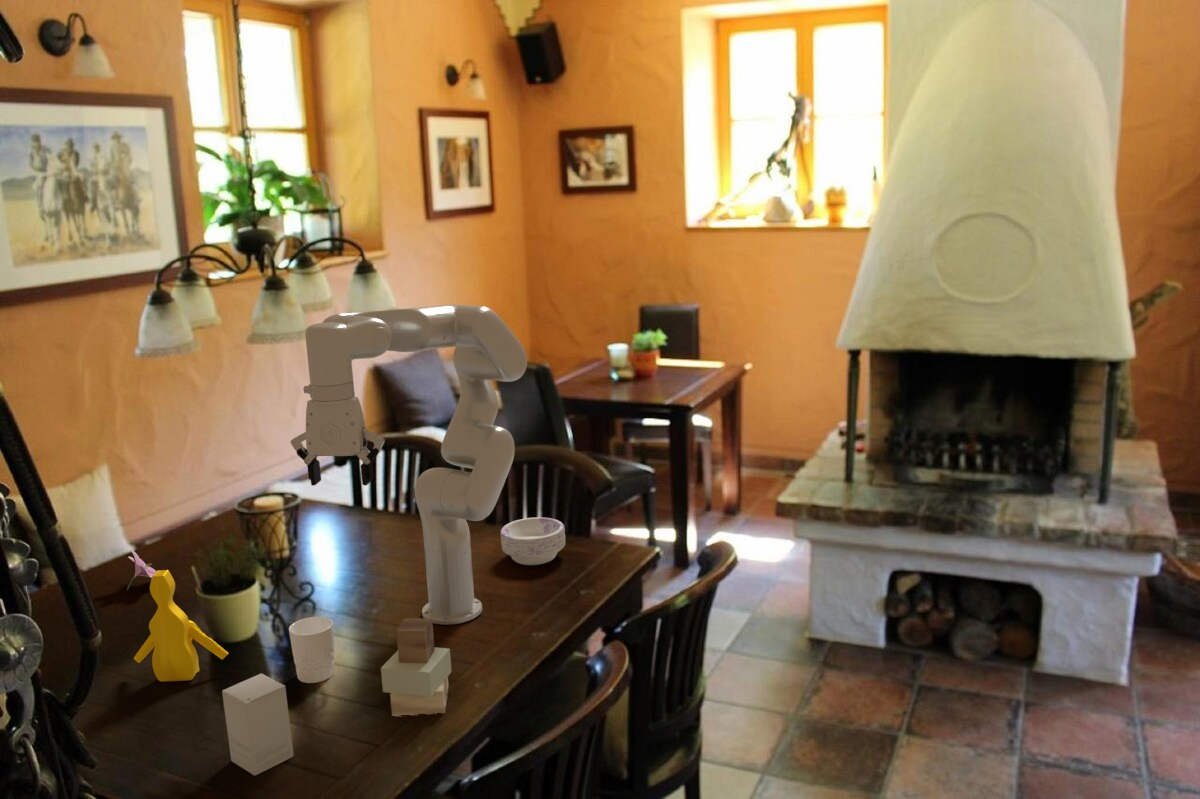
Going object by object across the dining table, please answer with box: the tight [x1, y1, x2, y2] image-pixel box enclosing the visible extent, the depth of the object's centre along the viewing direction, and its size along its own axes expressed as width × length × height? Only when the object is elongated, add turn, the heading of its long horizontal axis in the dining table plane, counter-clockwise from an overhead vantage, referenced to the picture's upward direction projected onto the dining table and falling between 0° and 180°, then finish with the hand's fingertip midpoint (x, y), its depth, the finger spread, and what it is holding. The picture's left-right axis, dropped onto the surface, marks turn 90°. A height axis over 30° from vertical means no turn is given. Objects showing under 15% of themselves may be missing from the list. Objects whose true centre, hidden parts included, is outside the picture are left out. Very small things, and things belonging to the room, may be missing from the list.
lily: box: [125, 544, 157, 591], centre depth 240 cm, size 12×12×10 cm
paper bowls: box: [500, 516, 566, 566], centre depth 248 cm, size 15×15×8 cm
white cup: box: [288, 616, 335, 684], centre depth 195 cm, size 8×8×10 cm
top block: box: [380, 646, 453, 697], centre depth 182 cm, size 9×9×4 cm
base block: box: [389, 676, 450, 717], centre depth 184 cm, size 9×9×4 cm
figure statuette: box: [133, 569, 229, 682], centre depth 194 cm, size 18×8×22 cm, turn 91°
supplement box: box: [222, 673, 294, 776], centre depth 167 cm, size 7×7×13 cm
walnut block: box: [395, 617, 435, 663], centre depth 182 cm, size 5×5×6 cm
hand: (341, 483), depth 191 cm, fingers open, 9 cm apart
